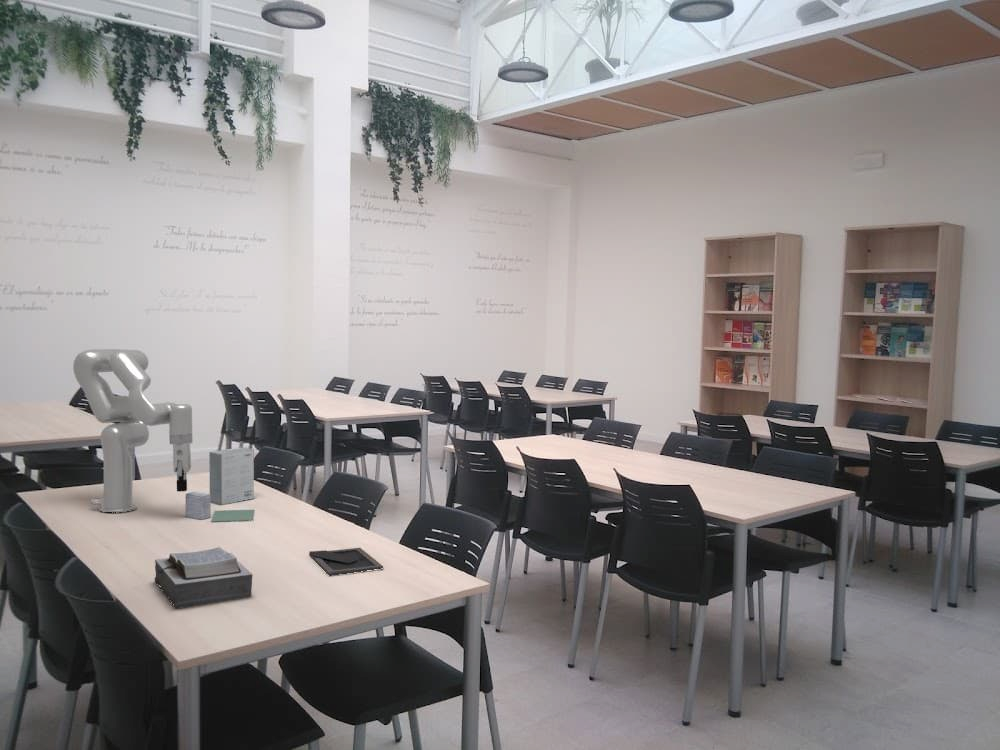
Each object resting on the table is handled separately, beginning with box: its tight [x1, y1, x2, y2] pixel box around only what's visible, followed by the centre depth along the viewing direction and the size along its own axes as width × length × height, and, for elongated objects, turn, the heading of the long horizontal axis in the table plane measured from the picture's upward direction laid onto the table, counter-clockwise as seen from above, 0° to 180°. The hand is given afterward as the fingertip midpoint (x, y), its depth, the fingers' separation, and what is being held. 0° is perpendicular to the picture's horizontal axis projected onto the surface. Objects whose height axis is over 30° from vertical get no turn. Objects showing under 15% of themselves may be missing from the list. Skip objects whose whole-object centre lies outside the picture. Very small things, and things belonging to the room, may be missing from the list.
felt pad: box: [210, 509, 255, 523], centre depth 289 cm, size 14×16×1 cm
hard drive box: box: [208, 447, 255, 506], centre depth 313 cm, size 16×8×20 cm, turn 144°
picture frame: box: [308, 547, 384, 577], centre depth 238 cm, size 16×2×21 cm
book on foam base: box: [154, 546, 253, 609], centre depth 211 cm, size 23×27×10 cm
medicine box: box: [185, 491, 212, 521], centre depth 286 cm, size 8×4×9 cm, turn 65°
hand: (181, 490), depth 284 cm, fingers closed
